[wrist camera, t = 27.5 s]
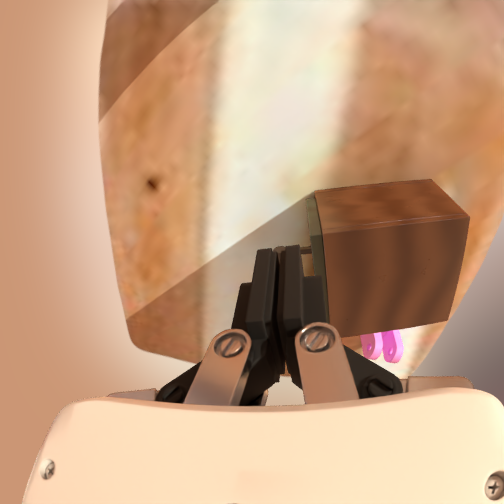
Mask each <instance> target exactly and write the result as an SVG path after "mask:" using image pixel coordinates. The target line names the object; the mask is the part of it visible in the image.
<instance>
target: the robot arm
mask: <svg viewBox="0 0 504 504" xmlns="http://www.w3.org/2000/svg"><path fill="white" fill-rule="evenodd" d="M285 360H286V364H287V369H288V373H289V374H291V378H292V382H293V383H294V384H295V385H296V386H298V387H299V388H300V389H302V390H303V394H304V400H305V404H304V405H285V406H265V404H266V400H267V397H268V388H270V387H271V386H272V385H273V384H274V383H275V382H279V378H280V374H285ZM22 504H504V407H503V405H502V404H501V402H500V401H499V400H498V399H497V398H496V397H494V396H493V395H491V394H489V393H487V392H484V391H480V390H476V389H474V385H473V384H472V383H471V381H470V380H468V379H467V378H465V377H460V376H446V377H445V376H442V377H441V376H440V377H423V376H408V379H399V378H398V377H396V376H395V375H394V374H392V373H391V372H389V371H387V370H385V369H384V368H382V367H380V366H379V365H377V364H375V363H373V362H372V361H370V360H368V359H367V358H365V357H363V356H361V355H360V354H358V353H356V352H355V351H353V350H351V349H350V348H348V347H346V346H345V345H343V344H342V341H341V338H340V335H339V333H338V331H337V329H336V328H335V327H333V326H332V325H330V324H327V321H326V310H325V301H324V291H323V283H322V275H316V276H308V277H304V273H303V265H302V259H301V252H300V246H299V245H293V246H286V249H285V250H281V254H280V263H279V258H278V253H277V251H273V252H272V249H271V248H268V249H260V250H257V255H256V261H255V266H254V272H253V278H252V282H250V283H242V284H241V286H240V290H239V294H238V299H237V303H236V308H235V313H234V317H233V322H232V327H231V329H229V330H225V331H223V332H221V333H219V334H218V335H216V336H215V337H214V338H213V340H212V341H211V343H210V345H209V347H208V349H207V352H206V354H205V356H204V358H203V360H202V361H201V362H199V363H198V364H196V365H195V366H193V367H192V368H190V369H189V370H187V371H186V372H184V373H183V374H181V375H180V376H179V377H177V378H176V379H174V380H172V381H171V382H169V383H168V384H166V385H165V386H164V387H162V388H161V389H160V390H159V391H157V390H156V389H155V388H153V389H146V390H137V391H128V392H118V393H112V394H109V395H108V396H107V397H95V398H86V399H82V400H78V401H75V402H72V403H70V404H68V405H66V406H65V407H64V408H63V409H62V410H61V411H60V412H59V414H58V415H57V416H56V418H55V420H54V421H53V423H52V425H51V427H50V429H49V431H48V433H47V435H46V437H45V439H44V442H43V444H42V446H41V449H40V451H39V454H38V456H37V459H36V461H35V464H34V467H33V470H32V472H31V475H30V478H29V481H28V485H27V487H26V490H25V494H24V497H23V501H22Z"/></svg>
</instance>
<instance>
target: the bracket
mask: <svg viewBox="0 0 504 504" xmlns="http://www.w3.org/2000/svg"><path fill="white" fill-rule="evenodd" d="M360 337H361V343H362V349H363V354H364V357H365V358H367V359H372V360H376V359H377V358H378V357H379V356H380V354H381V352H382V350H383V354H384V359H385V361H386V362H390V363H397V362H399V360H400V359H401V357H402V355H403V350H404V347H403V343H402V339H401V336H400V333H399V330H393V331H386V332H380V333H373V334H365V335H360Z"/></svg>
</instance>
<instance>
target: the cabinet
mask: <svg viewBox="0 0 504 504" xmlns="http://www.w3.org/2000/svg"><path fill="white" fill-rule="evenodd" d="M314 192H315V198H316V203H317V208H318V214H319V219H320V225H321V230H322V237H323V247H324V257H325V268H326V280H327V293H328V307H329V324H330V325H332V326H333V327H335V328H336V329H337V331H338V333H339V335H340V338H342V337H350V336H358V335H365V334H373V333H380V332H386V331H393V330H399V329H405V328H411V327H416V326H422V325H427V324H433V323H438V322H443V321H447V320H448V317H449V314H450V310H451V307H452V303H453V300H454V296H455V292H456V288H457V284H458V280H459V275H460V271H461V266H462V261H463V256H464V251H465V246H466V240H467V234H468V228H469V221H470V217H469V216H468V215H467V214H466V213H465V212H464V211H463V210H462V209H461V208H460V207H459V206H458V205H457V204H456V203H455V202H454V201H453V200H452V199H451V198H450V197H449V196H448V195H447V194H446V193H445V192H444V191H443V190H442V189H441V188H440V187H439V186H438V185H437V184H436V183H435V182H433V180H431V179H427V180H414V181H402V182H391V183H380V184H370V185H360V186H351V187H342V188H333V189H325V190H317V191H314Z"/></svg>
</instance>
